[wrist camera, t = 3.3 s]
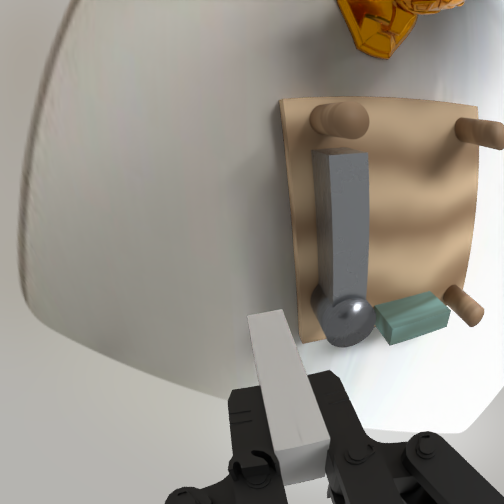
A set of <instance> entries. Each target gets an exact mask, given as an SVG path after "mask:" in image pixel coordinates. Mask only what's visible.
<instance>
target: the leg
mask: <svg viewBox="0 0 504 504" xmlns="http://www.w3.org/2000/svg"><path fill="white" fill-rule="evenodd" d="M311 155H312V167H313V180H314V194H315V210H316V228H317V250H318V281H319V284H318V285H317V286H316V287H315V289H314V290H313V292H312V295H311V299H310V304H311V308H312V310H313V312H314V314H315V316H316V318H317V320H318V322H319V324H320V326H321V328H322V330H323V332H324V334H325V336H326V338H327V340H328V341H329V342H330V343H331V344H332V345H334V346H337V347H349V346H353V345H355V344H357V343H359V342H361V341H362V340H364V339H365V338H366V337H367V336H368V335H369V334H370V333H371V331H372V330H373V328H374V326H375V323H376V313H375V310H374V309H373V307H372V306H371V305H370V303H369V302H368V301H367V300H366V293H367V278H368V258H369V215H370V206H369V162H368V153H367V152H363V151H359V150H355V149H351V148H347V147H342V148H328V149H316V150H311Z"/></svg>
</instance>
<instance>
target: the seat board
mask: <svg viewBox="0 0 504 504" xmlns="http://www.w3.org/2000/svg"><path fill="white" fill-rule="evenodd" d="M279 104H280V113H281V121H282V130H283V138H284V147H285V157H286V167H287V177H288V187H289V198H290V209H291V220H292V233H293V245H294V259H295V273H296V289H297V306H298V324H299V336H300V338H301V341H302V344H304V343H309V342H313V341H318V340H323V339H327V338H326V336H325V334H324V332H323V330H322V328H321V326H320V324H319V322H318V320H317V318H316V316H315V314H314V312H313V310H312V308H311V304H310V299H311V295H312V292H313V290H314V289H315V287H316V286H317V285H318V284H319V281H318V250H317V228H316V210H315V194H314V180H313V167H312V155H311V150H316V149H328V148H342V147H347V148H351V149H355V150H359V151H363V152H367V153H368V162H369V206H370V215H369V258H368V278H367V293H366V300H367V301H368V302H369V303H370V305H371V306H372V307H373V309H374V310H375V313H376V323H375V326H374V327H377V328H378V330H379V331H380V332H381V334H382V335H383V337H384V338H385V339H386V341H387V342H388V344H389V345H393V344H397V343H400V342H403V341H406V340H409V339H412V338H415V337H418V336H421V335H424V334H427V333H430V332H433V331H436V330H439V329H441V328H444V327H447V323H448V319H449V316H450V312H451V310H450V309H449V308H448V307H447V305H448V306H449V307H450V308H451V309H452V310H453V311H454V312H455V313H456V314H457V315H458V316H459V317H461V318H462V319H463V320H464V321H465V322H466V323H467V324H468V325H469V326H470V327H474V326H475V325H477V324H478V323H479V322H480V321H481V319H482V317H483V315H484V308H483V307H481V306H480V305H479V304H478V303H477V302H476V301H475V300H473V299H472V298H471V297H470V296H469V295H468V294H466V293H465V292H464V291H463V286H464V282H465V277H466V272H467V267H468V261H469V256H470V250H471V243H472V237H473V229H474V221H475V212H476V202H477V189H478V169H479V145H480V146H484V147H489V148H493V149H497V150H502V149H504V125H503V124H502V123H500V122H495V121H488V120H480V119H478V107H476V106H470V105H463V104H456V103H449V102H440V101H431V100H420V99H408V98H391V97H359V96H339V97H306V98H289V99H282V100H279Z"/></svg>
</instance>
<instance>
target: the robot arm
mask: <svg viewBox="0 0 504 504" xmlns="http://www.w3.org/2000/svg"><path fill="white" fill-rule="evenodd" d="M247 319H248V325H249V331H250V337H251V343H252V349H253V355H254V360H255V366H256V371H257V376H258V381H259V386H254V387H248V388H242V389H235V390H232V392H231V395H230V397H229V399H228V410H229V421H230V431H231V441H232V450H233V457H232V458H231V460H230V461H229V466H228V471H229V475H228V476H227V477H226V478H224V479H223V480H222V481H220V482H218V483H216V484H214V485H211V486H208V487H205V488H202V489H198V488H195V487H182V488H179V489H176V490H175V491H173V492H172V493H171V494H169V496H168V498H167V500H166V501H165V504H288V502H287V497H286V493H285V489H284V486H286V485H291V484H296V483H301V482H305V481H309V480H314V479H317V478H322V477H324V476H325V473H326V475H327V478H328V481H329V486H328V491H327V498H330V497H331V499H332V502H333V504H504V497H503V496H502V495H501V494H500V493H499V492H498V491H497V490H496V489H495V488H494V487H493V486H492V485H491V484H490V483H489V482H488V481H487V480H486V479H485V478H483V476H481V475H480V474H479V473H478V472H477V471H476V470H475V469H474V468H473V467H472V466H471V465H470V464H469V463H468V462H467V461H466V460H465V459H464V458H463V457H462V456H461V455H460V454H459V453H458V452H457V451H455V449H454V448H452V447H451V446H450V445H449V444H448V443H447V442H446V441H445V440H444V439H443V438H442V437H441V436H439V435H438V434H436V433H433V432H429V431H427V432H420V433H418V434H416V435H414V436H413V437H412V438H411V439H410V440H409V441H408V442H400V443H380V442H377V441H375V440H373V439H371V438H370V437H369V436H368V435H366V433H365V431H364V429H363V427H362V425H361V423H360V421H359V419H358V416H357V414H356V412H355V410H354V408H353V406H352V404H351V401H350V400H349V397H348V395H347V393H346V391H345V389H344V387H343V384H342V382H341V380H340V378H339V377H337V376H336V375H335V374H334V373H333V372H331V371H330V370H327V371H323V372H319V373H315V374H311V375H307V374H306V371H305V369H304V366H303V363H302V360H301V358H300V355H299V352H298V350H297V347H296V344H295V342H294V339H293V336H292V334H291V331H290V328H289V326H288V323H287V320H286V318H285V315H284V312H283V310H282V309H280V310H275V311H269V312H264V313H258V314H252V315H247Z"/></svg>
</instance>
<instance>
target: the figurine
mask: <svg viewBox="0 0 504 504" xmlns="http://www.w3.org/2000/svg"><path fill="white" fill-rule="evenodd" d="M336 1H337V3H338V6H339V8H340V11H341V13H342V15H343V17H344V20H345V22H346V24H347V26H348V28H349V31H350V33H351V35H352V37H353V40H354V43H355V45H356V48H357V49H358V50H360V51H362V52H364V53H366V54H368V55H370V56H373V57H376V58H380V59H386V60H388V59H389V58H390V57H391V55H392V54H393V53H394V51H395V50H396V49H397V48H398V47H399V46H400V45H401V43H402V42H403V41H404V40H405V39H406V37H407V36H408V35H409V34H410V32H411V31H412V29H413V28H414V26H415V24H416V21H417V18H418V14H421V15H431V14H436V13H439V12H440V11H441V10H442V9H452V8H454V7H455V6H458V7H460V6H463V5H464V2H465V0H336Z"/></svg>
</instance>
